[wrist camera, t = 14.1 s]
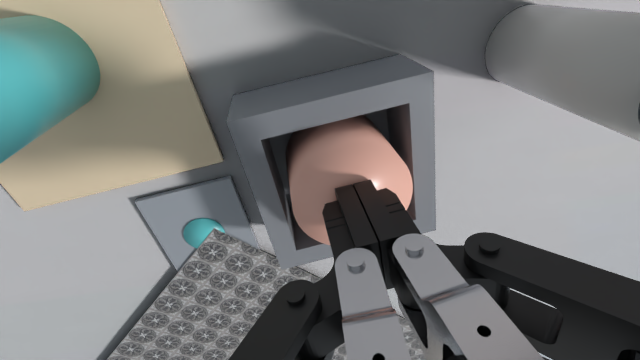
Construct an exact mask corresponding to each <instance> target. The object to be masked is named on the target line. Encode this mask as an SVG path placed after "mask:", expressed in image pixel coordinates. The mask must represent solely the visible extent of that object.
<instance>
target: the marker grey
mask: <svg viewBox="0 0 640 360" xmlns="http://www.w3.org/2000/svg"><path fill="white" fill-rule="evenodd" d="M485 63H486V67H487V70H488V72H489V74H490V75H491V76H492V77H493V78H494V79H495V80H497V81H499V82H501V83H504V84H506V85H508V86H511V87H513V88H515V89H518V90H520V91H522V92H525V93H527V94H529V95H532V96H534V97H536V98H539V99H541V100H543V101H546V102H548V103H551V104H553V105H555V106H558V107H560V108H562V109H565V110H567V111H569V112H572V113H574V114H576V115H579V116H581V117H583V118H586V119H588V120H590V121H593V122H595V123H597V124H600V125H602V126H604V127H607V128H609V129H611V130H614V131H616V132H618V133H621V134H623V135H625V136H628V137H630V138H632V139H635V140H637V141H640V13H636V12H623V11H611V10H598V9H586V8H573V7H560V6H548V5H535V4H531V5H525V6H522V7H519V8H517V9H515V10H513V11H512V12H510V13H509V14H507V15H506V16H505V17H504V18H503V19H502V20H501V21H500V22H499V23H498V25H497V26H496V27H495V29H494V30H493V32H492V34H491V35H490V38H489V40H488V43H487V46H486V51H485Z"/></svg>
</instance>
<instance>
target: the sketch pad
mask: <svg viewBox="0 0 640 360" xmlns="http://www.w3.org/2000/svg"><path fill="white" fill-rule="evenodd" d="M25 15H36V16H42V17H46V18H50V19H53V20H55V21H58V22H60V23H62V24H64V25H65V26H67V27H69V28H70V29H72V30H73V31H74V32H76V33H77V34H78V35H79V36H80V37H81V38H82V39H83V40H84V41H85V42H86V43H87V44H88V46H89V47H90V49H91V50H92V52H93V53H94V55H95V57H96V60H97V62H98V65H99V69H100V85H99V88H98V91H97V93H96V94H95V96H94V97H93V98H92V99H91V100H90V101H89V102H88V103H86V104H85V105H83V106H82V107H80V108H79V109H78V110H76V111H75V112H73V113H72V114H70V115H69V116H68V117H66V118H65V119H63V120H62V121H61V122H59V123H58V124H56V125H55V126H53V127H52V128H51V129H49V130H48V131H46V132H45V133H43V134H42V135H41V136H39V137H38V138H36V139H35V140H33V141H32V142H31V143H29V144H28V145H26V146H25V147H23V148H22V149H21V150H19V151H18V152H16V153H15V154H14V155H12V156H11V157H9V158H8V159H6V160H5V161H4V162H2V163H1V164H0V184H1V185H2V186H3V187H4V188H5V189H6V191H7V192H8V193H9V194H10V195H11V196H12V198H13V199H14V200H15V201H16V202H17V203H18V205H19V206H20V207H21V208H22V209H23V210H24V211H28V210H32V209H36V208H40V207H44V206H48V205H52V204H56V203H60V202H64V201H68V200H72V199H76V198H80V197H84V196H88V195H92V194H96V193H100V192H104V191H108V190H112V189H116V188H120V187H124V186H128V185H132V184H136V183H140V182H144V181H148V180H152V179H156V178H160V177H164V176H168V175H172V174H176V173H180V172H184V171H188V170H192V169H196V168H200V167H204V166H208V165H212V164H216V163H220V162H223V161H224V158H223V156H222V153H221V151H220V148H219V146H218V143H217V141H216V138H215V136H214V134H213V131H212V129H211V126H210V124H209V121H208V119H207V116H206V114H205V111H204V109H203V106H202V104H201V101H200V99H199V97H198V94H197V92H196V89H195V87H194V84H193V82H192V79H191V77H190V74H189V72H188V69H187V67H186V64H185V62H184V59H183V57H182V55H181V52H180V50H179V47H178V45H177V42H176V40H175V37H174V35H173V32H172V30H171V27H170V25H169V22H168V20H167V17H166V15H165V13H164V10H163V8H162V5H161V3H160V0H0V19H1V18H9V17H17V16H25Z"/></svg>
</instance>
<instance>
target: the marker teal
mask: <svg viewBox="0 0 640 360" xmlns="http://www.w3.org/2000/svg"><path fill="white" fill-rule="evenodd" d="M99 85H100V69H99V65H98V62H97V60H96V57H95V55H94V53H93V52H92V50H91V49H90V47H89V46H88V44H87V43H86V42H85V41H84V40H83V39H82V38H81V37H80V36H79V35H78V34H77V33H76V32H74V31H73V30H72V29H70V28H69V27H67V26H65V25H64V24H62V23H60V22H58V21H55V20H53V19H50V18H46V17H42V16H36V15H25V16H17V17H9V18H1V19H0V164H1V163H2V162H4V161H5V160H6V159H8V158H9V157H11V156H12V155H14V154H15V153H16V152H18V151H19V150H21V149H22V148H23V147H25V146H26V145H28V144H29V143H31V142H32V141H33V140H35V139H36V138H38V137H39V136H41V135H42V134H43V133H45V132H46V131H48V130H49V129H51V128H52V127H53V126H55V125H56V124H58V123H59V122H61V121H62V120H63V119H65V118H66V117H68V116H69V115H70V114H72V113H73V112H75V111H76V110H78V109H79V108H80V107H82V106H83V105H85V104H86V103H88V102H89V101H90V100H91V99H92V98H93V97H94V96H95V94H96V93H97V91H98V88H99Z"/></svg>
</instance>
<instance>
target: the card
mask: <svg viewBox="0 0 640 360" xmlns="http://www.w3.org/2000/svg"><path fill="white" fill-rule="evenodd" d="M135 204H136V206H137V207H138V209H139V210H140V212H141V214H142V215H143V217H144V219H145V220H146V222H147V223H148V225H149V227H150V228H151V230H152V231H153V233H154V235H155V236H156V238H157V239H158V241H159V243H160V244H161V246H162V248H163V249H164V251H165V252H166V254H167V256H168V257H169V259H170V260H171V262H172V264H173V265H174V267H175V269H176V270H177V272H179V271H180V269H181V268H182V267H183V266H184V264H185V263H186V262H187V261H188V260H189V258H190V257H191V256H192V255H193V254H194V252H195V251H196V250H197V249H198V247H199V246H200V245H201V244H202V243H203V241H204V240H205V239H206V238H207V236H208V235H209V234H210V233H211V232H212V230H213V229H214V228H215V229H217V230H219V231H221V232H223V233H225V234H228V235H230V236H232V237H234V238H236V239H238V240H240V241H242V242H244V243H247V244H249V245H251V246H253V247H255V248H257V249H259V250H260V247H259V245H258V242H257V240H256V237H255V235H254V232H253V230H252V227H251V225H250V222H249V220H248V218H247V215H246V213H245V210H244V208H243V205H242V203H241V200H240V198H239V195H238V193H237V190H236V188H235V185H234V183H233V180H232V178H231V176H227V177H223V178H219V179H215V180H211V181H207V182H203V183H199V184H195V185H191V186H187V187H183V188H179V189H175V190H171V191H167V192H163V193H159V194H155V195H151V196H147V197H143V198H139V199H136V201H135Z"/></svg>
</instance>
